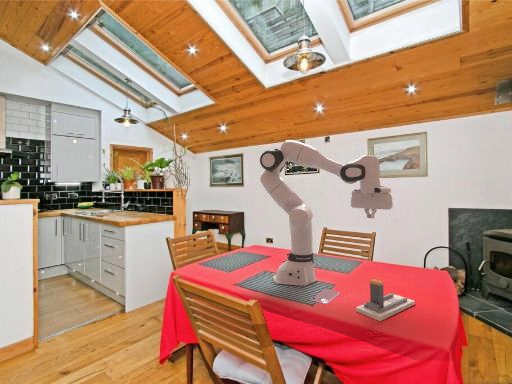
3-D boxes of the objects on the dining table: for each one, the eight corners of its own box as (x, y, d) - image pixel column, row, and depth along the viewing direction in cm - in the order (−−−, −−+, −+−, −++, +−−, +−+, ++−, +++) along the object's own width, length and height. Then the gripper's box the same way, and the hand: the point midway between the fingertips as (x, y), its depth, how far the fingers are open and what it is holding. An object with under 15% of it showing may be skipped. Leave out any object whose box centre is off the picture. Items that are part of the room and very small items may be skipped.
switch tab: (374, 304, 109) (373, 278, 109) (384, 307, 105) (383, 281, 105) (370, 305, 107) (369, 280, 107) (380, 309, 104) (379, 283, 104)
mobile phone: (340, 291, 126) (326, 302, 114) (340, 293, 126) (326, 304, 114) (324, 288, 131) (309, 298, 119) (325, 290, 131) (309, 300, 119)
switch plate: (391, 296, 120) (390, 287, 120) (414, 304, 112) (414, 294, 112) (356, 311, 107) (355, 301, 107) (379, 321, 99) (379, 310, 99)
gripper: (347, 189, 139) (348, 217, 139) (386, 189, 121) (386, 220, 122) (355, 189, 142) (356, 216, 142) (394, 188, 125) (394, 219, 125)
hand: (370, 218), depth 132 cm, fingers closed
